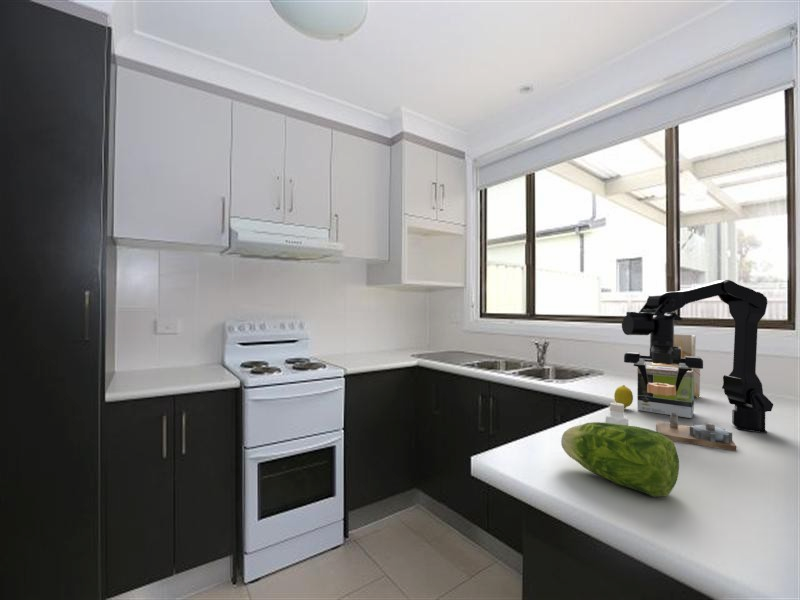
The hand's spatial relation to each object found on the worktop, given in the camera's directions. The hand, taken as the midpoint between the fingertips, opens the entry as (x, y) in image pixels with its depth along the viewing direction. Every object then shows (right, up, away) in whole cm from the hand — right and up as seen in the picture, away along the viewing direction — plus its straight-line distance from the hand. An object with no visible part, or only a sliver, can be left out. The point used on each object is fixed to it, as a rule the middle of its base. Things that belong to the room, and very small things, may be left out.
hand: (661, 389), depth 113 cm
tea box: (+13, -12, +18) cm, 25 cm away
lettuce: (-34, -10, -37) cm, 51 cm away
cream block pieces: (+36, -13, +43) cm, 57 cm away
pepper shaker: (-20, -10, -13) cm, 26 cm away
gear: (0, -1, 0) cm, 1 cm away
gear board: (+2, -11, -9) cm, 14 cm away
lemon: (+1, -11, +21) cm, 24 cm away
